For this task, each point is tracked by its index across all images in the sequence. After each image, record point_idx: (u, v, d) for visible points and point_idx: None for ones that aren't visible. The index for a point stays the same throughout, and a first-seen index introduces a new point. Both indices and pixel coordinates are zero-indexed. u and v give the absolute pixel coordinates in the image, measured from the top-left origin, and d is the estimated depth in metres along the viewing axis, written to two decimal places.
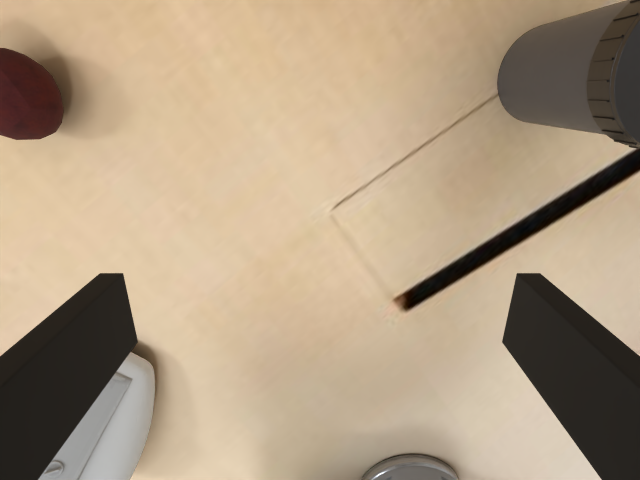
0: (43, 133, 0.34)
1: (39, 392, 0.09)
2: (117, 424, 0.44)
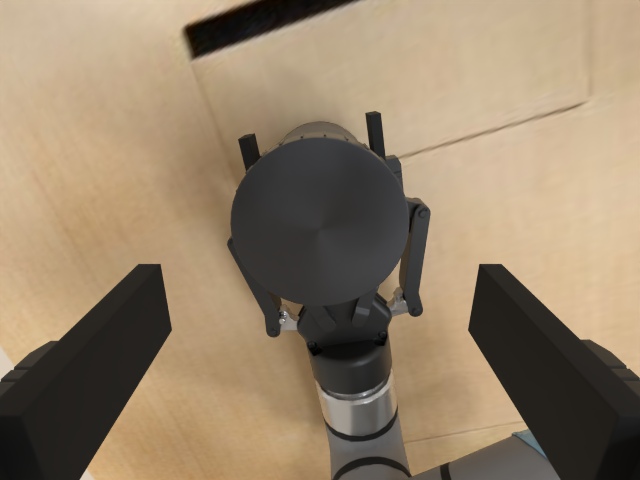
0: None
1: (97, 371, 0.09)
2: None
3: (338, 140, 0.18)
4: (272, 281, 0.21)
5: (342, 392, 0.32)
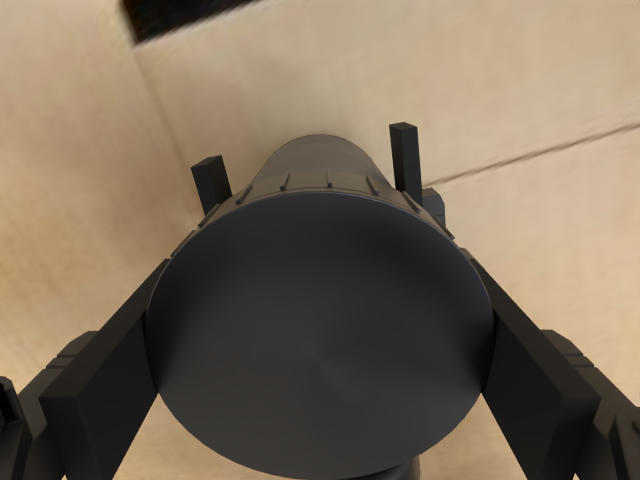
0: None
1: (135, 359, 0.10)
2: None
3: (359, 197, 0.09)
4: (231, 444, 0.12)
5: None
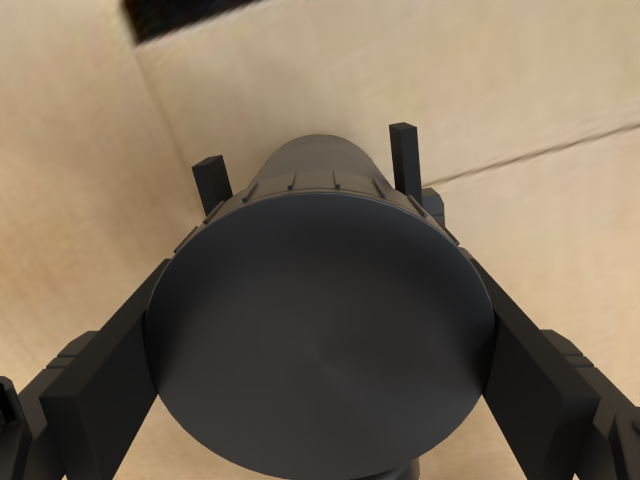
0: None
1: (136, 358, 0.10)
2: None
3: (146, 345, 0.10)
4: (432, 427, 0.11)
5: None
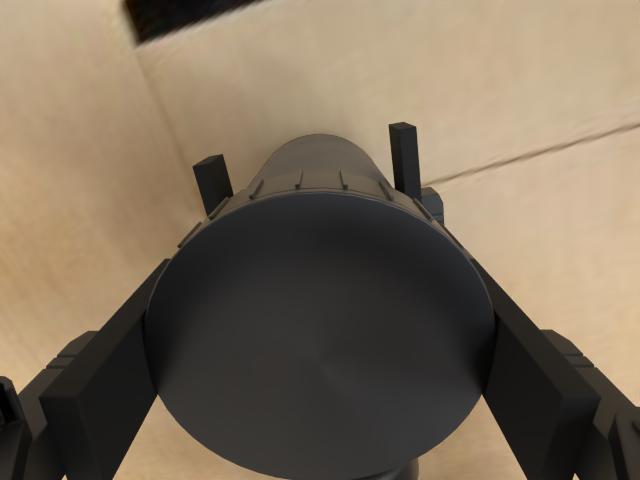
0: None
1: (136, 358, 0.10)
2: None
3: None
4: (409, 241, 0.09)
5: None
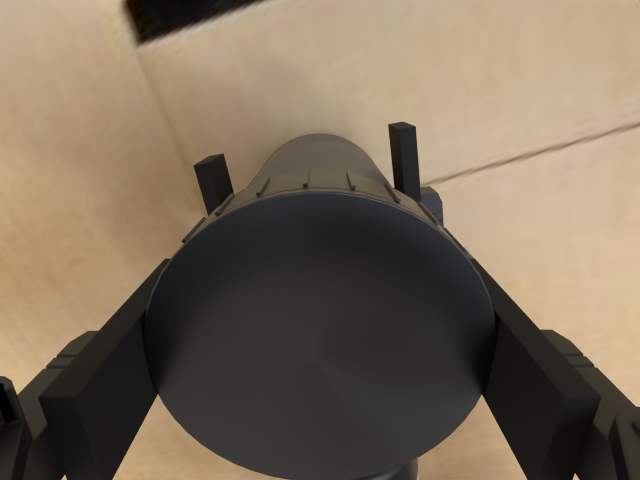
0: None
1: (135, 358, 0.10)
2: None
3: (493, 353, 0.10)
4: (175, 303, 0.10)
5: None
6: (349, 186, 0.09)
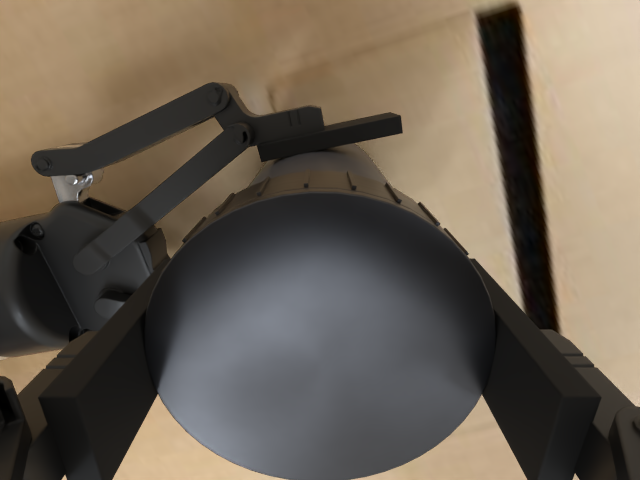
0: None
1: (136, 358, 0.10)
2: None
3: (492, 354, 0.10)
4: (175, 303, 0.10)
5: None
6: (350, 186, 0.09)
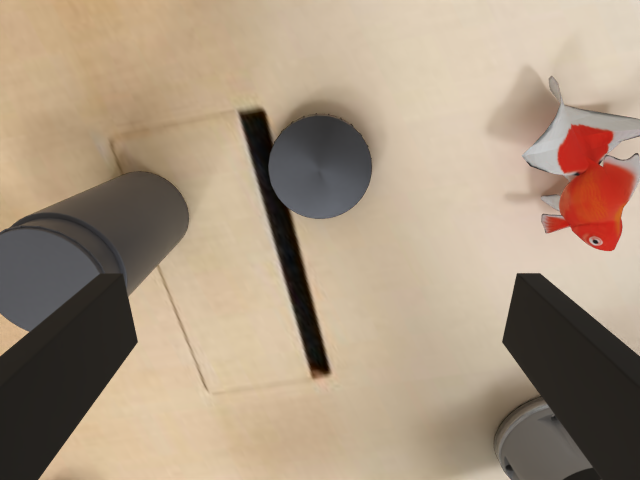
0: None
1: (39, 392, 0.09)
2: None
3: (371, 167, 0.35)
4: (279, 149, 0.34)
5: None
6: (328, 115, 0.34)
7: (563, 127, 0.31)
